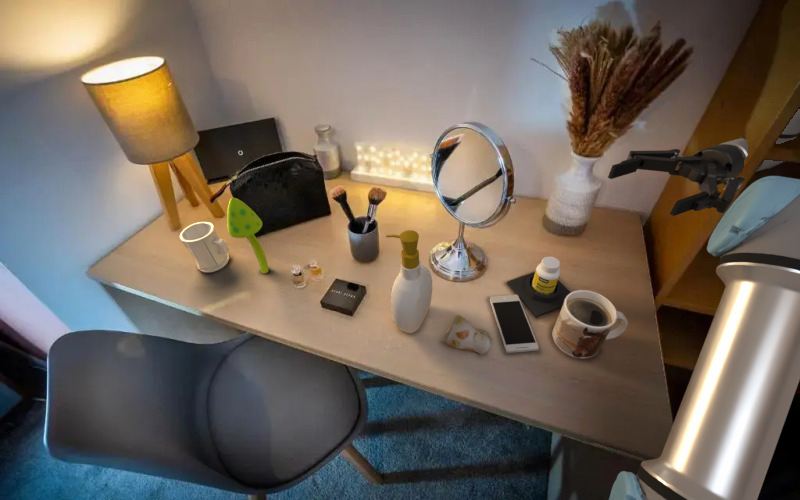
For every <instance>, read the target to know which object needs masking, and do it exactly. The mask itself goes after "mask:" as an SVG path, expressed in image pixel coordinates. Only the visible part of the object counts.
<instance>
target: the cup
mask: <svg viewBox="0 0 800 500" xmlns="http://www.w3.org/2000/svg"><path fill="white" fill-rule="evenodd" d="M178 236H179V240H180V241H181V243H182V244H183V246H185V248H186V249H187V250H188V252H189V253H190V255H191V256H192V258H193V259H194V260H195V262H196V267H197V268H198V270H199V271H200V272H202V273H214V272H217V271H219V270H222V269H223V268H224V267H225V266H226V265H227V264H228V262H229V261H230V256H229V250H230V249H229V245H228V243H227V241H226V240H225V239H223V238H219V235H218V233H217V231H216V228H215V226H214V224H213V223H212V222H210V221H209V222H208V221H199V222H195V223H192V224H190V225H188V226H186V227H185V228H184V229H183V230H182V231H181V232H180V233H179V235H178Z"/></svg>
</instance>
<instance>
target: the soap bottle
mask: <svg viewBox="0 0 800 500" xmlns="http://www.w3.org/2000/svg"><path fill="white" fill-rule="evenodd" d="M419 237H420V235H419V233H418V232H417V231H416V230H413V229H407V230H404V231H402V232H401V233H400V234H395V233H394V234H386V235H385V238H395V239H399V240H400V245H401V247H402V249H401V253H400V256H401V261H400V271H399V273H398V274H397V276H396V278H395V280H394V281H393V284H392V287H391V291H390V293H391V294H390V311H391V315H392V319H393V321H394V324H395V325H396V327H398V329H399V330H400V331H402V332H404V333H408V334H412V333H413V334H414V333H415V332H417V331H418V330H419V329H420V327H421V326H422V325H423V323H424V321H425V318H426V316H427V314H428V311H429V309H430V307H431V303H432V295H433V279H432V274H431V271H430V270H429V268H428V267H426V266H425V265H422V264H421V260H420V252H419V249H418V243H419V239H420V238H419Z"/></svg>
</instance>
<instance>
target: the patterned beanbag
mask: <svg viewBox="0 0 800 500" xmlns="http://www.w3.org/2000/svg"><path fill="white" fill-rule="evenodd" d="M443 343H444V344H446V345H447V346H448V347H451V348H454V349H460V350H469V351H472V352H475V353H477V354H479V355H485V354H487V353H488V351H490V348H491V345H492V343H491V339H490V337H489V336H488V334H487V333H486V332H485V331H483V330H481V329H479V328H476V327H475V326H474V325H473V323H472V322H471V321H470V320H469V319H467V318H466V317H465V316H462V315H459V314H456V316H455V318H454V319H453V321H452V323H451V324H450V326H449V328H448V330H447V332H446V335H445V337H444V339H443Z"/></svg>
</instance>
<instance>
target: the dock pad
mask: <svg viewBox="0 0 800 500" xmlns="http://www.w3.org/2000/svg"><path fill="white" fill-rule="evenodd" d="M534 275H535V271H533V272H530V273H527V274H525V275H522V276H519V277H515V278H513V279H510V280H508V281H507V282H506V285H507V286H508V287H509V288H510V289H511V290H512V291H513V293H514V295H518V296H519V299H520V301H521V303H523V304H524V306H525V307H526V308H527V309H528V311H529V312H530V313H531V314H532V315H533V316H534V317H535V318H536V319H538V318H540V317H543V316H545V315H548V314H550V313H553V312H555V311H558V310H561V308H562V305H563V303H564V301H565V298H566V297H567V295H569V294H570V293H572V292H571V290H569V289H568V288H567V287H566V285H564V284H563V283H562V282H561V281H560V280H559V279H558V282H557V284H556V287H555V290H554V292H553V294H551V295H548V296H547V295H543V294H540V293H536V292H535V291H534V290H533V289H532V288H531V284H532V281H533V278H534Z"/></svg>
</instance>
